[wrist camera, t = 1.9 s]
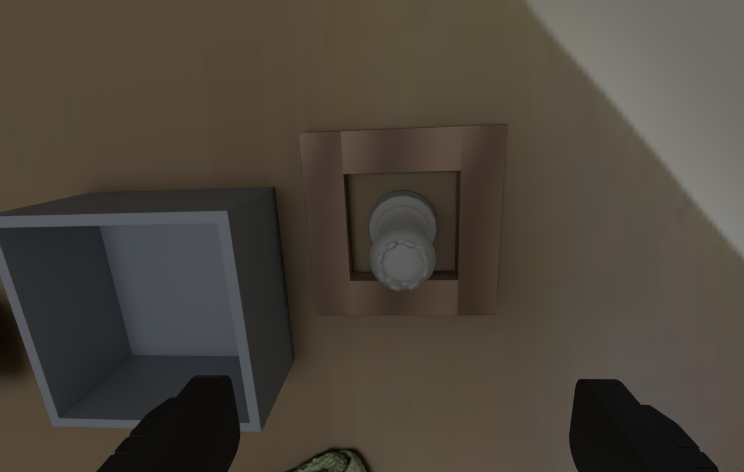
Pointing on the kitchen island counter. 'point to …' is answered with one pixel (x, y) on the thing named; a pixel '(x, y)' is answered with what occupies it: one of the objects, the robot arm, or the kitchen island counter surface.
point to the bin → (149, 300)
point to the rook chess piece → (402, 240)
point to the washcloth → (333, 463)
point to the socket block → (392, 155)
